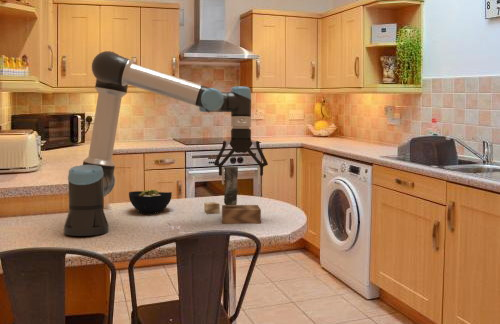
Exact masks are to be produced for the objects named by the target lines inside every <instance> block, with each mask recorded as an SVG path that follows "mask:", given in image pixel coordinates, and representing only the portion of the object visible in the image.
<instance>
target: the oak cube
mask: <svg viewBox="0 0 500 324" xmlns="http://www.w3.org/2000/svg"><path fill="white" fill-rule="evenodd" d="M220 205H221V204H220V203H219V202H216V201H215V202H204V210H203V211H205V212H206V213H205V212H204V213H205V214H206V215H212V214H215V213H216V214H220V210H221V208H220ZM216 214H215V215H216Z"/></svg>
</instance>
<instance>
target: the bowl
mask: <svg viewBox="0 0 500 324" xmlns="http://www.w3.org/2000/svg"><path fill="white" fill-rule="evenodd" d="M172 194H173V192H171V191H169V192H167V191H166V192H165V191H163V192H162V191H160V192H159V191H158V190H156V189H150V190H148V189H144V190H143V191H142V190H140V191H137V190H136V191H129V192H128V198H129V201H130V203H131V205H132V206H133V207H134V208H135V210H137V212H138V213H139V214H143V215H154V214H156V215H157V214H159V213H162V212H163V211H164V210H165V208H167V207H168V205H169V204H170V202H171V200H172V196H173V195H172Z"/></svg>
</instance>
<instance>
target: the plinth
mask: <svg viewBox="0 0 500 324" xmlns="http://www.w3.org/2000/svg"><path fill="white" fill-rule="evenodd" d="M261 211H262V210H261V208H260V206H259V205H258V204H237V205H225V204H221V221H222V224H225V225H226V224H230V225H232V224H234V225H235V224H239V225H241V224H261V221H262V220H261V219H262V218H261V217H262V215H261V213H262V212H261Z"/></svg>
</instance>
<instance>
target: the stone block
mask: <svg viewBox="0 0 500 324" xmlns="http://www.w3.org/2000/svg"><path fill="white" fill-rule="evenodd" d="M223 167H224V192H223V193H224V194H223V197H224V198H223V200H224V201H223V203H224V205H238V204H237V202H238V193H239V190H238V183H239V181H238V180H239V179H238V174H239V173H238V172H239V167H238V166H223Z"/></svg>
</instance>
